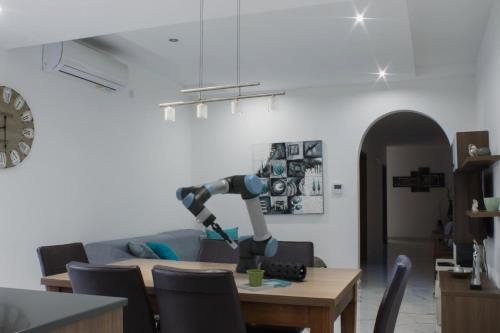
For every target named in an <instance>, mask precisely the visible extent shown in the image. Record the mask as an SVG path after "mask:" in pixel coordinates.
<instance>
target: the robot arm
mask: <svg viewBox="0 0 500 333" xmlns="http://www.w3.org/2000/svg"><path fill="white" fill-rule="evenodd" d="M262 190H263V183H262V179H261V178H260V177H259V176H258V175H255V174H251V173H250V174H236V175H230V176H226V177H223V178H219V179H218V180H217V181H213V182H212V181H211V182H207V183H202V184H197V185H191V186H186V187H184V186H183V187H178V188H177V189H176V193H175V195H176V196H175V197H176V199H177V201H179V202H181V203H182V205H183V206H184V207H185V208H186V210H188V211H189V213H190V214H192V215H193V216H194V218H196V221H199V222H200V223H202V224H201V225H203V226H204V227H205V228H209V227H211V229H212V231H214V232H215V233H216V234H218V235H220V237H221V238H223V241H224V242H227V243H226V244H228V245H229V246H230V247H231V248H232V249H233V250H235V249H237V251H238V252H237V253H238V256H237V257H238V259H237V264H236V267H235V273H239V274H248V273H247V271H248V270H258V265H259V263H258V260H257V256H258V257H266V258H269V257H273V256H275V255H276V253H277V251H278V248H279V244H278V240H277V238H275V237H273V235H272V233H271V232H270V231H269V230H268V226H267V223H266V219H265V216H264V212H263V208H262V204H261V201H260V195H261V192H262ZM219 194H221V195H227V194H229V195H240V198H241V200H243V201H244V203H245V205H246V209H247V214H248V216H249V220H250V223H251V224H250V225H251V227H252V231H253V233H254V234H249V235H248V234H247V235H242V236H241V235H240V236H238V238H237V239H238V240H237V241H238V243H236V242H235V241H234V240H233V239H232V238H231V237H230V236H229V235H228V233H227V232H225V231H224V230H223V229H222V227H221V226H220V224H219V223H217V222H216V223H215V221H216V220H217V217H216V215H215V214H213V213H211V210H209V208H207V207H206V205H205V204H206V203H207V201H208V200H209V199H211V198H212V196H216V195H219Z"/></svg>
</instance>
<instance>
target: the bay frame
mask: <svg viewBox="0 0 500 333" xmlns="http://www.w3.org/2000/svg"><path fill="white" fill-rule="evenodd" d="M291 285H292V282H291V281H289V280H283V279H278V278H276V279H270V278H269V279H264V280H263V279H262V285H261V287H250V286H249V282H245V283H238V284H236V288H239V289H242V290H247V291H253V292H256V291H264V290H270V289H274V288H280V287H281V288H286V287H287V286H291Z"/></svg>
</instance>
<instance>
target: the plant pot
mask: <svg viewBox="0 0 500 333" xmlns="http://www.w3.org/2000/svg"><path fill="white" fill-rule="evenodd" d="M263 273H264V271H263V270H248V271H247V273H246V274H247V277H248V283H249V286H250V287H261V285H262V281H263V278H264V276H263Z"/></svg>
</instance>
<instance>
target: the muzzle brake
mask: <svg viewBox="0 0 500 333" xmlns="http://www.w3.org/2000/svg"><path fill="white" fill-rule="evenodd" d="M258 270H263V271H264V273H263V278H269V279H270V278H271V279H281V280H283V281H294V282H304V280H305V279H306V277H307V275H308V271H307V266H306V264H305V263H297V262H296V263H295V262H282V261H272V260H266V259H265V260H261V261H260V262H259V263H258Z"/></svg>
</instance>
